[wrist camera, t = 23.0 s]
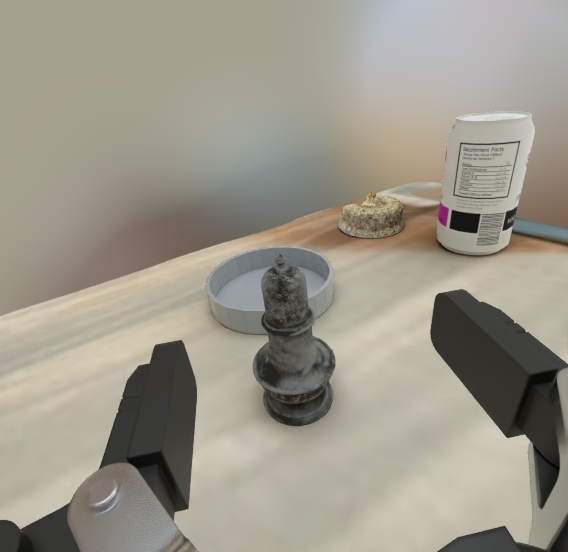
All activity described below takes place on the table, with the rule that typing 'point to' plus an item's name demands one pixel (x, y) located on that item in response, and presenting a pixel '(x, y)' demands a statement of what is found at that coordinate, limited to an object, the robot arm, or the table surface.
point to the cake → (373, 217)
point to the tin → (247, 285)
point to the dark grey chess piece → (292, 351)
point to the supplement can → (483, 180)
